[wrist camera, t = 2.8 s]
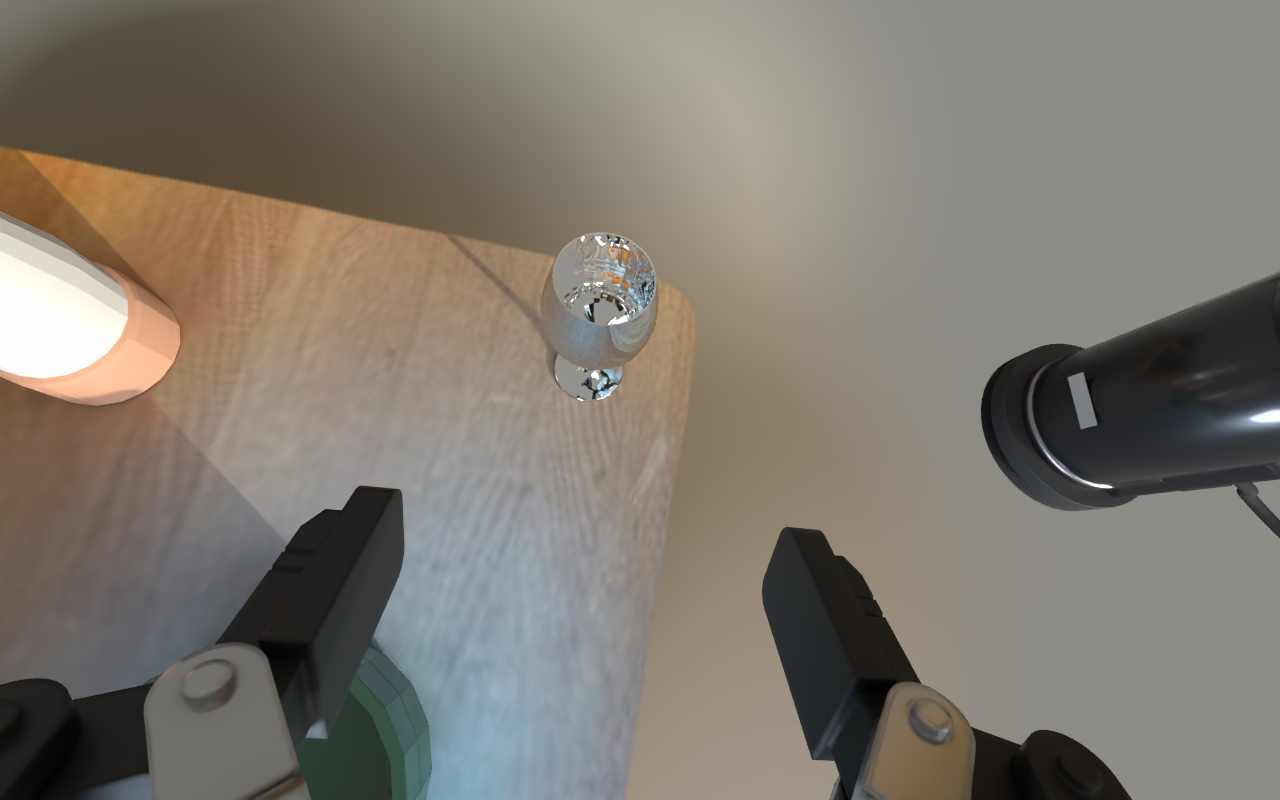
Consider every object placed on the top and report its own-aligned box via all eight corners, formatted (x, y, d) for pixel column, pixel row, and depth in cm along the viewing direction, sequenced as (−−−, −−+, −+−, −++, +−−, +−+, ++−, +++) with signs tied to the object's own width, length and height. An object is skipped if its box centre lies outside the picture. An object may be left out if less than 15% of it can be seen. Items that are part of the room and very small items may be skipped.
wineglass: (648, 388, 36) (691, 307, 25) (568, 426, 34) (575, 359, 23) (607, 314, 37) (631, 204, 26) (528, 348, 35) (516, 247, 24)
